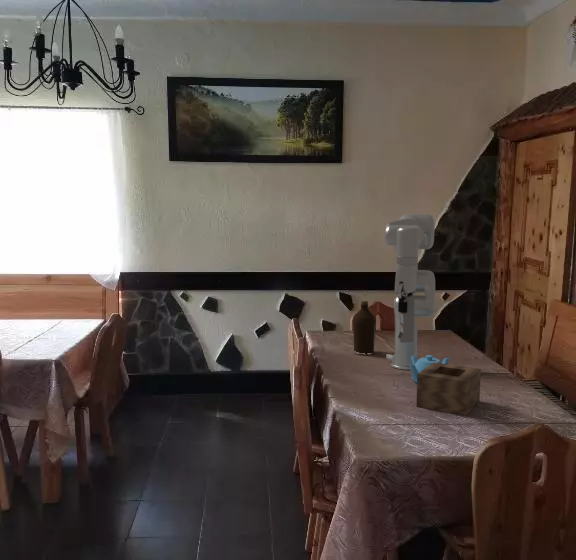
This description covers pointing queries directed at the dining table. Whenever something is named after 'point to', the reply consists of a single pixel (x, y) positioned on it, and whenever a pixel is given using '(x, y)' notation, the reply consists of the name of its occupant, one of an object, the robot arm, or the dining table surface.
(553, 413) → the dining table surface
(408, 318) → the vintage mobile phone
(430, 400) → the well block
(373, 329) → the olive oil
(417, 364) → the teapot
